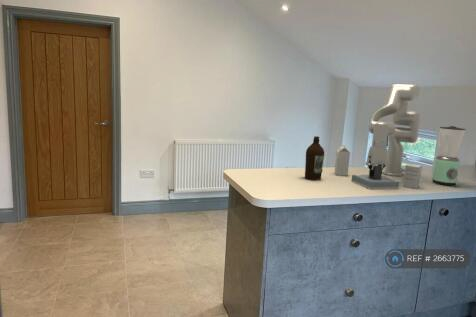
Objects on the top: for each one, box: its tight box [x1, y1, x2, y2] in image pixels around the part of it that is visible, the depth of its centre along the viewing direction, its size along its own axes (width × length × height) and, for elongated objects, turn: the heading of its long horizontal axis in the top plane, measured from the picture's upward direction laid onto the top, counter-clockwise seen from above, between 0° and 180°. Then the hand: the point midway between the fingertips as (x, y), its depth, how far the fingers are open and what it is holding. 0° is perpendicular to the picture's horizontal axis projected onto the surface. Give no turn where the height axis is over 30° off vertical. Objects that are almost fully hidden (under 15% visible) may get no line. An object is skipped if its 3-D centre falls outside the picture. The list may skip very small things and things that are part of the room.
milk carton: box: [333, 144, 351, 177], centre depth 229 cm, size 7×7×19 cm
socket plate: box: [351, 173, 400, 190], centre depth 206 cm, size 18×18×5 cm
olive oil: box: [304, 135, 325, 181], centre depth 212 cm, size 11×11×25 cm
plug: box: [369, 165, 383, 180], centre depth 205 cm, size 4×4×8 cm
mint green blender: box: [431, 125, 466, 186], centre depth 219 cm, size 19×13×35 cm
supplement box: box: [402, 163, 423, 190], centre depth 207 cm, size 7×7×13 cm
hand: (375, 176), depth 206 cm, fingers closed on plug, 4 cm apart
